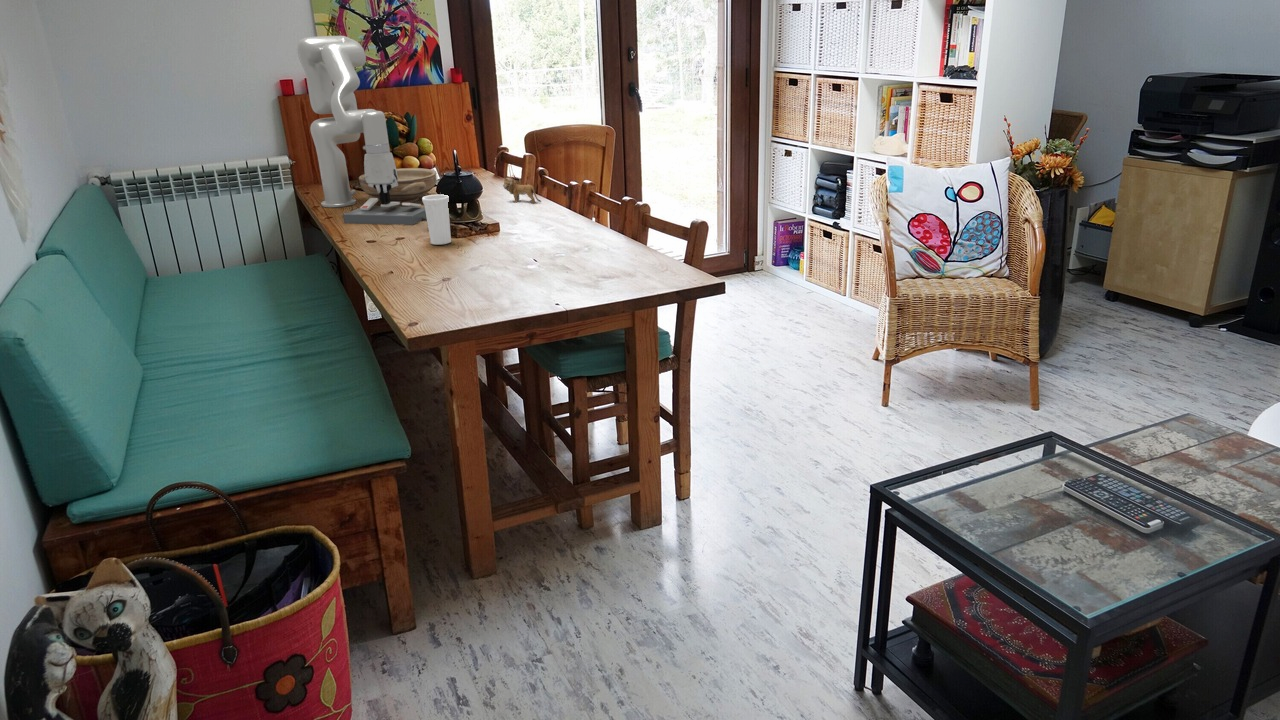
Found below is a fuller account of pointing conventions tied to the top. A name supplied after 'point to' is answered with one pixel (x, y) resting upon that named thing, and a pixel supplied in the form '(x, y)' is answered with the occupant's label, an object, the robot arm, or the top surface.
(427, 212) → the cup
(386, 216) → the grey switch panel
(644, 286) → the top surface
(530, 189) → the lion figurine
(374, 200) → the far-end rocker
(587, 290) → the top surface
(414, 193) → the ceramic bowl
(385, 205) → the middle rocker
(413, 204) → the block
